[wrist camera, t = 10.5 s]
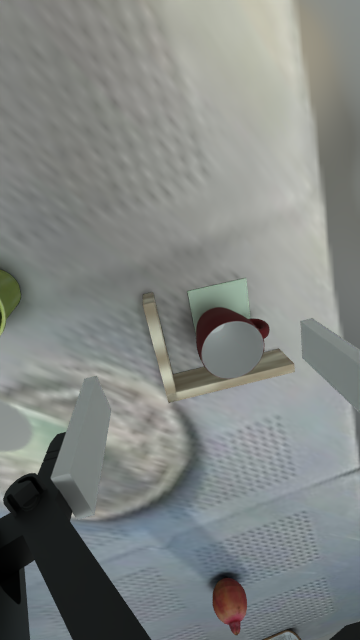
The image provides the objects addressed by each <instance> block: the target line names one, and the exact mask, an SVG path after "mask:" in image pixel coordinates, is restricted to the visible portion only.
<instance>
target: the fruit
mask: <svg viewBox="0 0 360 640" xmlns="http://www.w3.org/2000/svg"><path fill="white" fill-rule="evenodd" d="M213 608H214V611H215V613H216V615H217V617H218V618H219V619H220V620H221V621H222V622H223V623H225V624H228V625H229V626H230V629H231V631H232V632H233V634H235V635H238V634H239V632H240V622H241V621H242V619H243V618H244V616H245V615H246V610H247V599H246V594H245V591H244V589H243V587H242V586H241V584H239V583H238V582H237V581H235V580H234V579H231V578H225V577H224V578H223V579H221V580H220V581H218V582H217V584H216V586H215V588H214V590H213Z"/></svg>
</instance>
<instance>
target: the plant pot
mask: <svg viewBox="0 0 360 640" xmlns="http://www.w3.org/2000/svg"><path fill="white" fill-rule="evenodd" d="M20 299H21V293H20V288H19V284H18V283H17V281H16V280H15V279H14V278H13V277H12V276H11V275H10V274H9V273H7V272H5V271H3V270H0V336H1V334H2V333H3V331H4V328H5V325H6V319H7V318H8V316H9V315H10V314H11V312H12V311H13V310H14V309H15V307H16V306H17V305H18V303H19V302H20Z"/></svg>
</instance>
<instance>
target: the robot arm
mask: <svg viewBox="0 0 360 640" xmlns="http://www.w3.org/2000/svg"><path fill="white" fill-rule="evenodd" d="M300 323H301V342H302V358H303V359H304V360H305V361H306V362H307V363H308V364H309V365H310V366H311V367H312V368H314V369H315V370H316V371H317V372H318V373H319V374H320V375H321V376H322V377H323V378H324V379H325V380H326V381H327V382H328V383H329V384H330V385H331V386H332V387H333V388H334V389H335V390H337V391H338V392H339V393H340V394H341V395H342V396H343V397H344V398H345V399H346V400H347V401H348V402H349V403H350V404H351V405H352V406H353V407H354V408H355V409H356V410H357V411H359V412H360V350H359V349H358V348H356V347H355V346H353V345H352V344H350V343H349V342H347V341H346V340H344V339H343V338H341V337H340V336H338V335H337V334H335V333H334V332H332V331H331V330H329V329H328V328H326V327H325V326H323V325H322V324H320V323H319V322H317V321H316V320H314V319H313V318H311V319H307V320H303V321H300ZM110 414H111V408H110V405H109V403H108V401H107V398H106V396H105V394H104V392H103V389H102V387H101V385H100V382H99V380H98V378H97V376H94V377H90V378H86V379H84V382H83V385H82V388H81V391H80V394H79V397H78V399H77V402H76V405H75V408H74V411H73V414H72V417H71V420H70V423H69V426H68V429H67V431H66V432H64V433H60V434H57V435H56V436H55V438H54V439H53V440H52V442H51V443H50V445H49V447H48V450H47V452H46V453H47V454H46V455H45V458H44V460H43V461H44V462H43V463H42V465H41V468H40V470H39V473H38V475H37V474H35V473H29V474H27V475H24V476H22V477H21V478H19V479H17V480H16V481H15V482H14V483H13V484H12V485H11V486H10V487H9V488H8V490H7V491H6V493H5V496H4V498H3V501H4V505H5V506H6V507H7V509H8V510H9V511H10V512H11V513H9V514H7V515H6V516H4V517H2V518H0V640H30V634H29V621H28V608H27V595H26V582H25V570H24V567H25V566H26V565H28V564H29V563H31V562H32V561H34V560H35V562H36V564H37V566H38V568H39V570H40V572H41V574H42V576H43V578H44V580H45V582H46V585H47V587H48V589H49V591H50V593H51V595H52V597H53V599H54V601H55V603H56V606H57V608H58V610H59V612H60V614H61V616H62V618H63V620H64V622H65V624H66V627H67V629H68V631H69V633H70V635H71V637H72V639H73V640H151V639H150V637H149V636H148V634H147V633H146V631H145V630H144V628H143V627H142V626H141V624H140V623H139V621H138V620H137V618H136V617H135V615H134V614H133V612H132V611H131V610H130V608H129V607H128V605H127V604H126V602H125V601H124V599H123V598H122V596H121V595H120V594H119V592H118V591H117V589H116V588H115V586H114V585H113V583H112V582H111V581H110V579H109V578H108V576H107V575H106V573H105V572H104V570H103V569H102V567H101V566H100V565H99V563H98V562H97V560H96V559H95V557H94V556H93V554H92V553H91V551H90V550H89V549H88V547H87V546H86V544H85V543H84V541H83V540H82V538H81V537H80V536H79V534H78V533H77V531H76V530H75V528H74V527H73V525H72V524H71V522H70V519H71V514H72V512H73V514H74V516H75V517H76V519H77V520H78V519H82V518H85V517H89V516H92V515H95V508H96V502H97V496H98V490H99V483H100V477H101V471H102V464H103V458H104V452H105V446H106V439H107V433H108V427H109V421H110ZM330 640H360V622H357V623H353V624H350V625H346V626H345V627H344V628H342V629H341V630H340V631H339V632H338V633H337V634H336V635H334V636H333V637H332V638H331V639H330Z"/></svg>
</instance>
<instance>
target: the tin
mask: <svg viewBox="0 0 360 640" xmlns="http://www.w3.org/2000/svg"><path fill="white" fill-rule="evenodd" d="M263 640H301V638H300V637H299V636H298V635H297V634H296V633H295V632H293V631H291V630H284V631H282V632H280V633H277V634H275V635H272V636H270V637H268V638H265V639H263Z"/></svg>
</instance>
